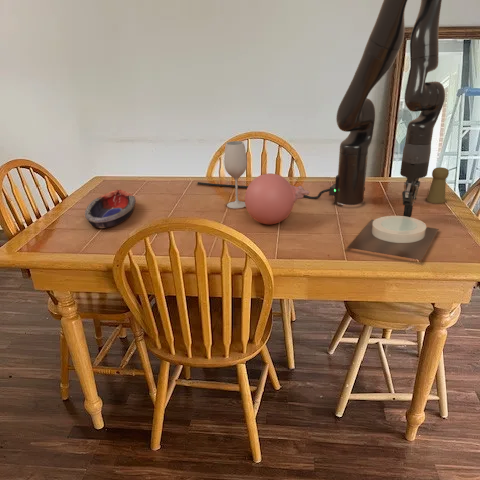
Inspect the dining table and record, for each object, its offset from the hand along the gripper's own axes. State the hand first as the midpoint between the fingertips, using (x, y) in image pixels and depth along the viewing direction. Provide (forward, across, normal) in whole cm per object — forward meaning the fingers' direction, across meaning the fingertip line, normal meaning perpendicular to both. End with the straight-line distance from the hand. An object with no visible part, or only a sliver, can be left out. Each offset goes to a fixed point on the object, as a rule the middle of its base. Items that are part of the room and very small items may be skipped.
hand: (407, 216), depth 152 cm
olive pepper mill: (+3, -27, +4) cm, 27 cm away
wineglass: (+3, +4, -57) cm, 57 cm away
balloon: (+3, +14, -37) cm, 40 cm away
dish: (+3, +30, -91) cm, 96 cm away
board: (+2, +14, 0) cm, 15 cm away
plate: (+2, +10, 0) cm, 11 cm away
